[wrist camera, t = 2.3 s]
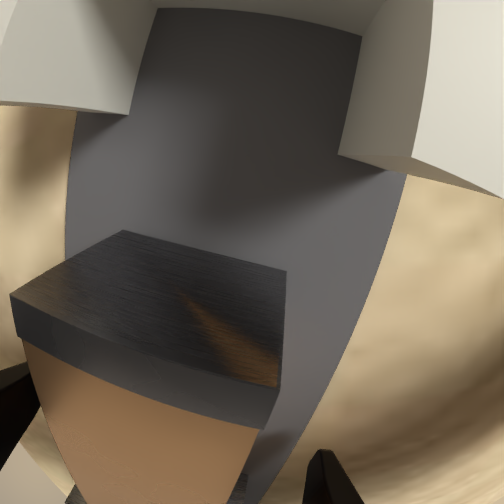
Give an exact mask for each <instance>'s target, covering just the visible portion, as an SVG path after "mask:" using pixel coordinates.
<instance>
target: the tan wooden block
mask: <svg viewBox="0 0 504 504" xmlns="http://www.w3.org/2000/svg"><path fill="white" fill-rule="evenodd" d="M286 280H287V271H285V270H281V269H276V268H272V267H268V266H264V265H260V264H256V263H252V262H248V261H244V260H240V259H236V258H232V257H228V256H225V255H221V254H217V253H213V252H209V251H205V250H201V249H197V248H193V247H189V246H185V245H181V244H177V243H173V242H170V241H166V240H162V239H158V238H154V237H150V236H146V235H142V234H139V233H135V232H131V231H127V230H121V231H119V232H117V233H115V234H113V235H111V236H109V237H108V238H106V239H104V240H102V241H100V242H98V243H96V244H94V245H93V246H91V247H89V248H87V249H85V250H83V251H82V252H80V253H78V254H76V255H74V256H73V257H71V258H69V259H67V260H65V261H64V262H62V263H60V264H58V265H57V266H55V267H53V268H52V269H50V270H48V271H46V272H45V273H43V274H41V275H40V276H38V277H36V278H35V279H33V280H31V281H30V282H28V283H26V284H25V285H23V286H22V287H20V288H18V289H17V290H15V291H14V292H12V293H10V294H9V295H10V301H11V307H12V312H13V318H14V323H15V327H16V332H17V336H18V337H20V338H21V339H22V342H23V346H24V350H25V354H26V358H27V362H28V366H29V369H30V373H31V376H32V380H33V383H34V386H35V389H36V392H37V395H38V398H39V401H40V404H41V407H42V410H43V412H44V415H45V418H46V420H47V423H48V425H49V428H50V430H51V433H52V435H53V438H54V440H55V442H56V444H57V447H58V449H59V451H60V453H61V455H62V458H63V460H64V462H65V464H66V466H67V468H68V470H69V472H70V474H71V476H72V478H73V480H74V481H75V483H76V485H77V487H78V489H79V491H80V492H81V494H82V496H83V498H84V499H85V501H86V503H87V504H226V503H227V501H228V499H229V497H230V495H231V492H232V490H233V488H234V486H235V484H236V482H237V480H238V477H239V475H240V473H241V471H242V469H243V466H244V464H245V462H246V460H247V457H248V455H249V453H250V451H251V448H252V446H253V444H254V441H255V439H256V437H257V434H258V432H259V429H260V430H264V429H265V426H266V424H267V422H268V419H269V417H270V415H271V412H272V410H273V408H274V405H275V403H276V400H277V398H278V395H279V393H280V387H281V373H282V357H283V341H284V323H285V302H286Z"/></svg>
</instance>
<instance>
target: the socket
mask: <svg viewBox="0 0 504 504" xmlns="http://www.w3.org/2000/svg"><path fill="white" fill-rule="evenodd" d="M158 8H211V9H226V10H237V11H247V12H255V13H262V14H269V15H276V16H282V17H287V18H292V19H298V20H302V21H307V22H312V23H316V24H320V25H324V26H328V27H332V28H336V29H340V30H343V31H347V32H350V33H353V34H357V35H360V36H362V42H361V47H360V53H359V58H358V63H357V68H356V73H355V78H354V83H353V88H352V93H351V98H350V102H349V107H348V111H347V116H346V120H345V125H344V129H343V133H342V138H341V142H340V146H339V150H338V154H337V155H341V156H344V157H348V158H351V159H354V160H357V161H361V162H364V163H367V164H370V165H373V166H376V167H379V168H382V169H385V170H389V171H394V172H399V173H404V174H409V175H413V176H418V177H422V178H427V179H431V180H435V181H439V182H443V183H447V184H451V185H455V186H459V187H463V188H467V189H470V190H474V191H477V192H481V193H484V194H488V195H491V196H495V197H498V198H501V199H504V0H0V105H5V106H27V107H43V108H55V109H66V110H75V111H84V112H93V113H109V114H122V115H129V111H130V106H131V101H132V97H133V93H134V88H135V84H136V80H137V76H138V72H139V68H140V64H141V61H142V57H143V53H144V50H145V46H146V43H147V40H148V36H149V33H150V30H151V27H152V24H153V21H154V18H155V15H156V12H157V9H158Z"/></svg>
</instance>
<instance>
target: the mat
mask: <svg viewBox="0 0 504 504" xmlns="http://www.w3.org/2000/svg"><path fill="white" fill-rule="evenodd" d="M361 42H362V36H360V35H357V34H353V33H350V32H347V31H343V30H340V29H336V28H332V27H328V26H324V25H320V24H316V23H312V22H307V21H302V20H298V19H292V18H287V17H282V16H276V15H269V14H262V13H255V12H247V11H237V10H226V9H211V8H158V9H157V12H156V15H155V18H154V21H153V24H152V27H151V30H150V33H149V36H148V40H147V43H146V46H145V50H144V53H143V57H142V61H141V64H140V68H139V72H138V76H137V80H136V84H135V88H134V93H133V97H132V101H131V106H130V111H129V115H122V114H109V113H93V112H84V111H78V112H77V118H76V124H75V130H74V136H73V143H72V150H71V158H70V166H69V176H68V188H67V202H66V225H65V260H67V259H69V258H71V257H73V256H74V255H76V254H78V253H80V252H82V251H83V250H85V249H87V248H89V247H91V246H93V245H94V244H96V243H98V242H100V241H102V240H104V239H106V238H108V237H109V236H111V235H113V234H115V233H117V232H119V231H121V230H127V231H131V232H135V233H139V234H142V235H146V236H150V237H154V238H158V239H162V240H166V241H170V242H173V243H177V244H181V245H185V246H189V247H193V248H197V249H201V250H205V251H209V252H213V253H217V254H221V255H225V256H228V257H232V258H236V259H240V260H244V261H248V262H252V263H256V264H260V265H264V266H268V267H272V268H276V269H281V270H285V271H287V280H286V302H285V323H284V341H283V357H282V373H281V387H280V393H279V395H278V398H277V400H276V403H275V405H274V408H273V410H272V412H271V415H270V417H269V419H268V422H267V424H266V426H265V429H264V430H260V429H259V432H258V434H257V437H256V439H255V441H254V444H253V446H252V448H251V451H250V453H249V455H248V457H247V460H246V462H245V464H244V466H243V469H242V471H241V473H243V474H248V481H247V487H246V493H245V499H244V504H258V503H259V501H260V500H261V498H262V497H263V496H264V494H265V493H266V491H267V490H268V488H269V487H270V485H271V484H272V482H273V481H274V479H275V478H276V476H277V474H278V473H279V471H280V470H281V468H282V467H283V465H284V463H285V462H286V460H287V458H288V457H289V455H290V454H291V452H292V450H293V449H294V447H295V445H296V443H297V442H298V440H299V438H300V437H301V435H302V433H303V431H304V430H305V428H306V426H307V424H308V422H309V421H310V419H311V417H312V415H313V413H314V411H315V410H316V408H317V406H318V404H319V402H320V400H321V398H322V396H323V394H324V392H325V390H326V388H327V386H328V384H329V382H330V380H331V378H332V376H333V374H334V372H335V370H336V368H337V366H338V364H339V362H340V360H341V357H342V355H343V353H344V351H345V349H346V346H347V344H348V342H349V340H350V337H351V335H352V333H353V331H354V328H355V326H356V323H357V321H358V319H359V316H360V314H361V311H362V309H363V307H364V304H365V302H366V299H367V296H368V294H369V291H370V289H371V286H372V283H373V281H374V278H375V275H376V273H377V270H378V267H379V264H380V261H381V259H382V256H383V253H384V250H385V247H386V244H387V241H388V238H389V235H390V232H391V228H392V225H393V222H394V219H395V215H396V212H397V209H398V205H399V202H400V198H401V195H402V191H403V188H404V184H405V180H406V176H407V174H404V173H399V172H394V171H389V170H385V169H382V168H379V167H376V166H373V165H370V164H367V163H364V162H361V161H357V160H354V159H351V158H348V157H344V156H341V155H337V154H338V150H339V146H340V142H341V138H342V133H343V129H344V125H345V120H346V116H347V111H348V107H349V102H350V98H351V93H352V88H353V83H354V78H355V73H356V68H357V63H358V58H359V53H360V47H361Z"/></svg>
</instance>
